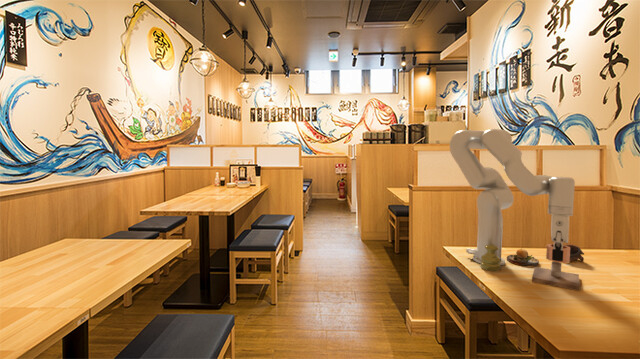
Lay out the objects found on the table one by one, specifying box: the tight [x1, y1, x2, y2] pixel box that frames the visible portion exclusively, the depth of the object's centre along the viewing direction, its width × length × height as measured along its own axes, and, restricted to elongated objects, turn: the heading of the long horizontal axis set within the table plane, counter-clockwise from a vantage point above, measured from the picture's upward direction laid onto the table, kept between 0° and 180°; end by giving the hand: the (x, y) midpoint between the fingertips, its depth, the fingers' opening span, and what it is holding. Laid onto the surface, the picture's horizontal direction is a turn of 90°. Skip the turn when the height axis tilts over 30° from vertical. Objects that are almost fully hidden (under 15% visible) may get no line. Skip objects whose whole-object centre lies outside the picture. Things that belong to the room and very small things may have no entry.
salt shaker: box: [480, 244, 502, 272], centre depth 136 cm, size 7×7×10 cm
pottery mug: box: [564, 243, 585, 262], centre depth 147 cm, size 12×10×8 cm
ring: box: [545, 243, 571, 264], centre depth 124 cm, size 7×7×5 cm
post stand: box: [531, 261, 581, 292], centre depth 125 cm, size 14×14×6 cm
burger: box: [506, 248, 540, 267], centre depth 145 cm, size 12×12×8 cm
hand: (557, 257), depth 124 cm, fingers closed on ring, 7 cm apart
